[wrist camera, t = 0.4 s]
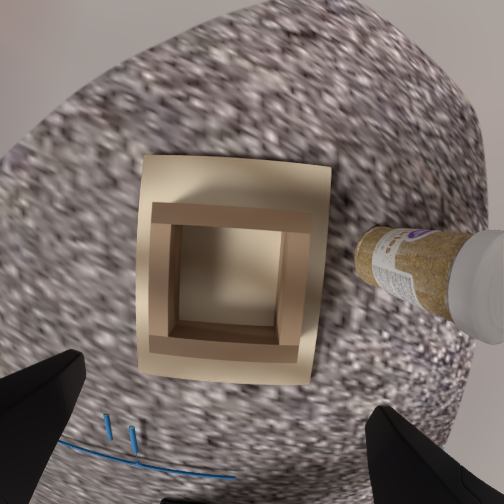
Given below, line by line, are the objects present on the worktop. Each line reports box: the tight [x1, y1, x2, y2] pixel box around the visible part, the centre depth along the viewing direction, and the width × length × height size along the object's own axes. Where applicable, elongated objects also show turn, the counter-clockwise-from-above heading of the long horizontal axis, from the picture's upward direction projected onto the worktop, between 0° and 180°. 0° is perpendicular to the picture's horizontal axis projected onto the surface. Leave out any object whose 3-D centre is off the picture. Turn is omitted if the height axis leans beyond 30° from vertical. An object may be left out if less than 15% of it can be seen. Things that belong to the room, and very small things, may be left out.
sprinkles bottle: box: [354, 226, 504, 344], centre depth 15 cm, size 5×5×13 cm
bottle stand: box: [136, 155, 331, 385], centre depth 19 cm, size 16×13×4 cm
